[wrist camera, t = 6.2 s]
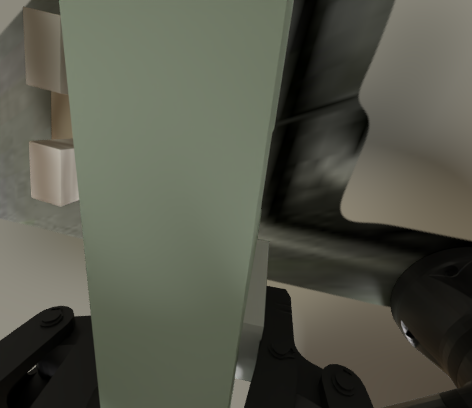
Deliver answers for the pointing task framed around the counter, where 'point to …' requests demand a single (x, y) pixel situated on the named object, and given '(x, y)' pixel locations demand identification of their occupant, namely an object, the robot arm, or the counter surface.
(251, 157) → the sage slotted plate
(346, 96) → the counter surface
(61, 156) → the slotted base
